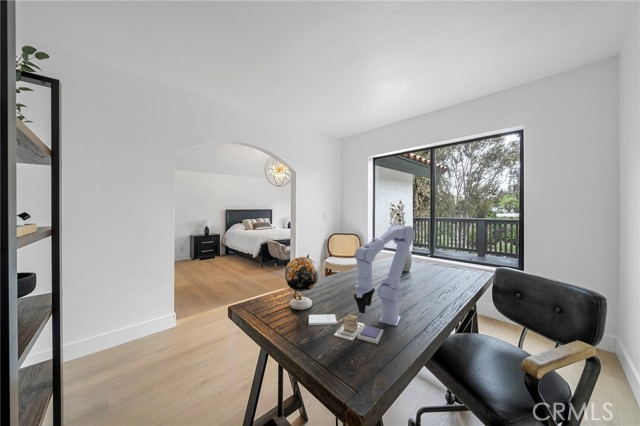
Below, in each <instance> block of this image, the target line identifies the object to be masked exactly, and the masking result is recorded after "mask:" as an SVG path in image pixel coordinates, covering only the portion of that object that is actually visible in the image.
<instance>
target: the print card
mask: <svg viewBox="0 0 640 426" xmlns="http://www.w3.org/2000/svg"><path fill="white" fill-rule="evenodd" d="M364 325H365V323H362V322H358V328H357V330H356V331H355V332H354V333H352V332H348V331H344V323H343V324H341V326H340V327H339V328H338V329H337V330H336V331H335V333H334V334H333V336H334V337H338V338H341V339H345V340H347V341H348V340H349V341H352V342H354V340H355V338H356V337H357V335H358V334H359V332H360V331H361V329H362V328H363V327H364Z"/></svg>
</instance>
